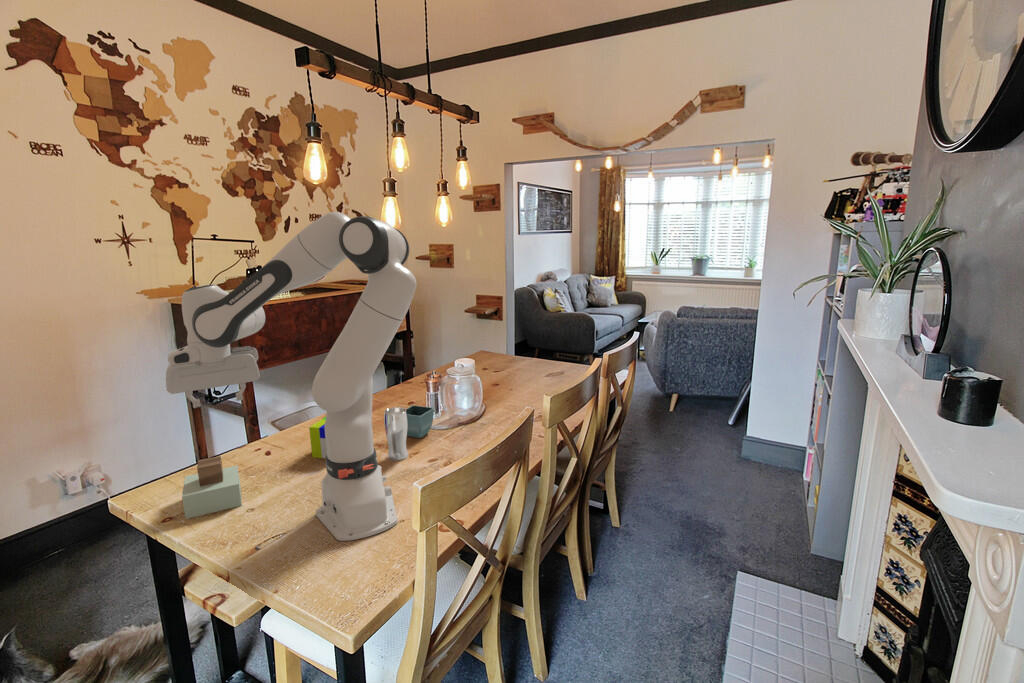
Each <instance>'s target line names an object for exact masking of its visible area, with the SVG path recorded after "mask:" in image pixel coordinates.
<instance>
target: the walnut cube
mask: <svg viewBox="0 0 1024 683" xmlns="http://www.w3.org/2000/svg"><path fill="white" fill-rule="evenodd" d="M222 468H223V462H222V456H221V455H218V456H213V457H208V458H203V459H199V460H197V466H196V469H197V474H198V477H199V483H200V486H205V485H209V484H214V483H218V482H223V469H222Z"/></svg>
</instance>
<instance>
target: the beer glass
mask: <svg viewBox="0 0 1024 683" xmlns="http://www.w3.org/2000/svg"><path fill="white" fill-rule="evenodd" d="M406 409H407V408H404V407H400V406H397V407H396V406H395V407H390V408H386V409H385V410H384V411H383V416H384V419H383V421H384V423H383V424H384V431H385V436H386V439H387V445H388V453H387V458H388V460H390V461H395V462H396V461H403V460H406V459H407V458H408V457H409V452H408V448H407V438H408V435H407V431H408V420H407V413H406Z"/></svg>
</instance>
